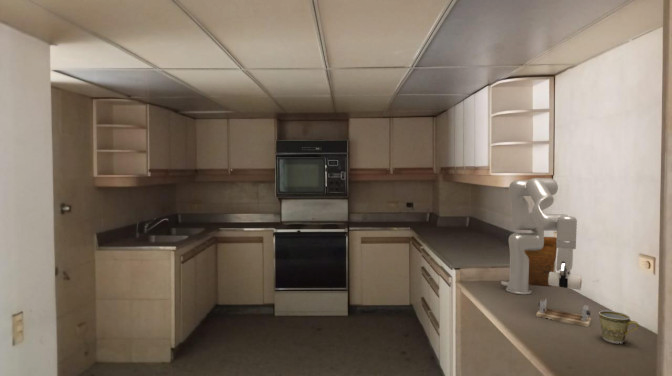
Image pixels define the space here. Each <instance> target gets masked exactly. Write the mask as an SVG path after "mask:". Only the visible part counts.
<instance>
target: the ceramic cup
mask: <svg viewBox="0 0 672 376" xmlns="http://www.w3.org/2000/svg"><path fill="white" fill-rule="evenodd" d="M598 316H599V323H600V329H601V335H602V337H601V338H602V339H603V340H604V341H605V342H608V343H611V344H614V343H615V344H616V345H617V344H619V343H620V344H619V345H622V344H623V342H624V343H625V339H626V336H627V334H630V333H631V332H633V331H636V330H637V329H639V327H640V326H639V323H638V322H637V321H635V320H631V317H630V316H629V315H628V314H626V313H623V312H620V311H612V310H601V311H599V312H598ZM630 320H631V321H630ZM631 324H636V328H633V329H630V330H628V328H629V326H630V325H631Z"/></svg>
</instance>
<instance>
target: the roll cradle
mask: <svg viewBox="0 0 672 376" xmlns="http://www.w3.org/2000/svg"><path fill="white" fill-rule="evenodd" d="M547 301H548V300H547V297H542V298H541V299H540V301H538V306H539V309H538V311H537V312H536V313H535V314H536V315H535V317H536V316H537V317H536V318H540V317H543V318H542V319H545V318H548V319H547V320H550V319H552V321H555V320H556V321H555V322H561V323H565V324H571V325H574V326H575V325H576V326H579V327H580V326H581V327H584V328H585V327H586V328H589V326H590V324H591V322H592V318H591V317H589V316H591V310H589V305H588V304H584V305H583V307H582V311H581V312H582V313H581V314H577V313H572V312H567V311H561V310H556V309H551V308H547Z"/></svg>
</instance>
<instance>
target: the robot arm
mask: <svg viewBox="0 0 672 376" xmlns="http://www.w3.org/2000/svg"><path fill="white" fill-rule="evenodd" d="M558 190H559V185H558V182H557V181H556V180H555V179H554V178H551V177H534V178H533V177H532V178H530V179H517V180H514V181H511V183H510V184H509V186H508V196H509V197H508V198H509V199H510V200H509V201H510V204H511V205H510V207H511V209H510V210H511V213H510V214H511V215H510V216H511V226H512V229H514V230H515V231H531V232H513V233H511V234H510V235H509V237H508V246H509V248H508V249H509V280H508V281H506V280H505V281H504V280H501V282H500V283H501V286H504V287H505V286H506V287H505V291H507V292H508V293H511V294H516V295H530V294H532V290H531V289H530V288H529V285H528V283H529V258H528V256H527V255H526V253H525V251H539V250H541V249H542V248H543V246H544V237H545V232H547V231H549V232H550V231H554V232H555V231H556V238H557V241H556V247H557V254H556V268H555V269H556V271H557V272H558V271H559V273H560V277H559V288H563V289H565V288H566V289H568V288H567V287H568V279H567V274H571V270H572V269H573V263H574V262H573V260H574V250H576V249H577V225H578V224H577V223H578V220H577V218H576V217H575V216H572V215H571V216H570V215H567V214H564V213H544V212H543V211H544V210H546V209H548V208H549V207H551V206H552V205H553V204H554V200H555V199H554V195H556V194H557V192H558ZM525 197H530V198H531V199H532V201H533V203H534V204H533V206H532V209H531V212H530V211H529V210H530V209H529V207H530V206H529V202H528V200H527V199H526V198H525ZM565 274H566V275H565Z"/></svg>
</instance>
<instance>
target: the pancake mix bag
mask: <svg viewBox="0 0 672 376" xmlns="http://www.w3.org/2000/svg"><path fill="white" fill-rule="evenodd" d="M556 241H557V236H556V237H555V236H544V246H543V248H542V249H541V250H539V251H525V253H526V255H527V256H528V258H529V283H528V286H529V285H530V286H541V287H543V286H544V287H552V286H551V285H549V283H548V277H549V273H550V272H555V261H556V259H557V252H558V248H557V247H556Z"/></svg>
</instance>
